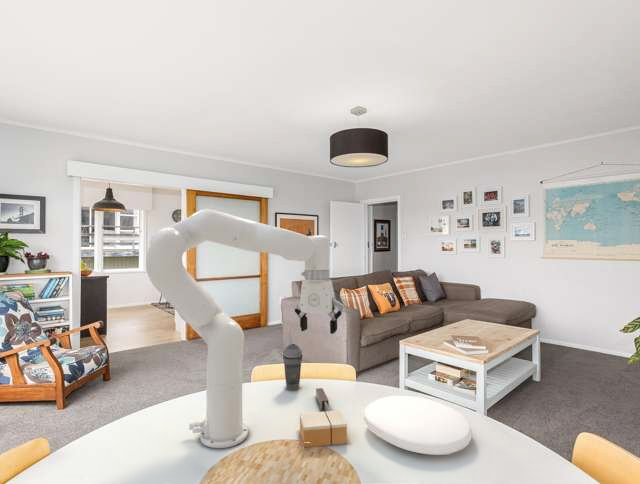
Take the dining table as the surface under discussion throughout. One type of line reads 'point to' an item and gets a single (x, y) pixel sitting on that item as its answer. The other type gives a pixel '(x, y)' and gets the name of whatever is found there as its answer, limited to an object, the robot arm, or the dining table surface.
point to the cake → (315, 429)
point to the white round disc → (418, 425)
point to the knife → (322, 399)
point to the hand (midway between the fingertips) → (318, 331)
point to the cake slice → (337, 427)
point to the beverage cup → (292, 365)
